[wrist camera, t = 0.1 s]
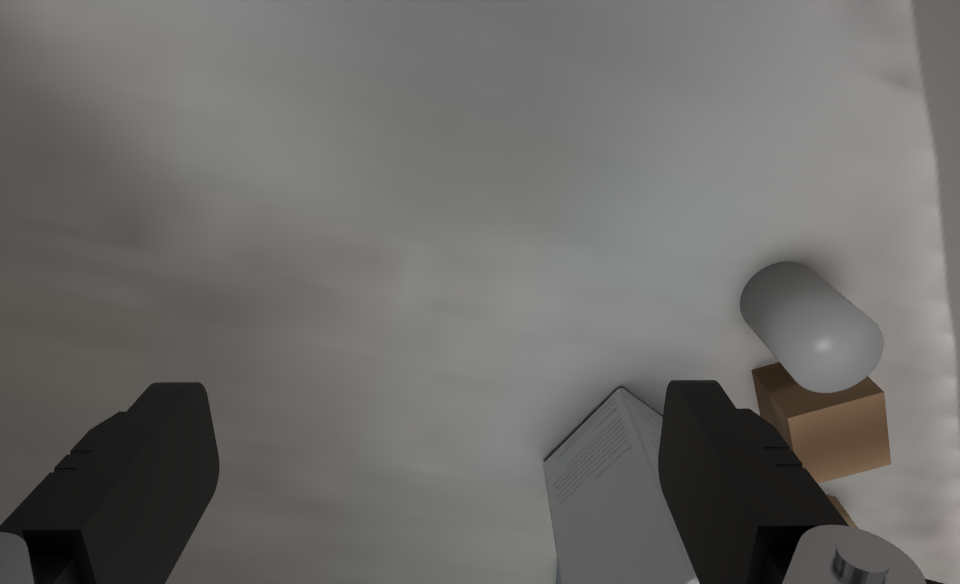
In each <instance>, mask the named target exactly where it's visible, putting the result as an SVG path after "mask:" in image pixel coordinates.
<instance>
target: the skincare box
mask: <svg viewBox="0 0 960 584" xmlns="http://www.w3.org/2000/svg"><path fill="white" fill-rule="evenodd" d="M662 422H663V417H662V416H661V415H660V414H658V413H657V412H655V411H654V410H653V409H651V408H650V407H648V406H647V405H646V404H644V403H643V402H642V401H640V400H639V399H637V398H636V397H634V396H633V395H631V394H630V393H629V392H627V391H626V390H625V389H623V388H619V389H617V390H616V391H615V392H614V393H613V394H612V395H611V396H610V397H609V398H608V399H607V400H606V401H605V402H604V403H603V404H602V405H601V406H600V407H599V408H598V409H597V410H596V411H595V412H594V413H593V414H592V415H591V416H590V417H589V418H588V419H587V420H586V421H585V422H584V423H583V424H582V425H581V426H580V427H579V428H578V429H577V430H576V431H575V432H574V433H573V434H572V435H571V436H570V437H569V438H568V439H567V440H566V441H565V442H564V443H563V444H562V445H561V446H560V447H559V448H558V449H557V450H556V451H555V452H554V453H553V454H552V455H551V456H550V457H549V458H548V459H547V460H546V461H545V462H544V465H543V467H544V473H545V480H546V486H547V494H548V500H549V507H550V513H551V519H552V526H553V533H554V539H555V546H556V553H557V559H558V565H559V572H560V579H561V584H699V581H698V579H697V576H696V574H695V571H694V569H693V566H692V564H691V561H690V559H689V557H688V554H687V552H686V549H685V547H684V544H683V542H682V539H681V537H680V534H679V532H678V529H677V527H676V525H675V522H674V520H673V517H672V515H671V512H670V510H669V507H668V505H667V502H666V500H665V498H664V495H663V492H662V489H661V485H660V480H659V473H658V453H659V445H660V437H661V429H662Z"/></svg>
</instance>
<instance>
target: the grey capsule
mask: <svg viewBox="0 0 960 584" xmlns="http://www.w3.org/2000/svg"><path fill="white" fill-rule="evenodd" d="M740 309H741V313H742V316H743V318H744V320H745V321H746V322H747V324H748V325H749V326H750V327H751V328H752V330H753V331H754V332H755V333H756V334H757V336H758V337H759V338H760V339H761V340H762V342H763V343H764V344H765V345H766V346H767V348H768V349H769V350H770V351H771V352H772V354H773V355H774V356H775V357H776V358H777V359H778V361H779V362H780V363H781V364H782V365H783V367H784V368H785V369H786V370H787V371H788V373H789V374H790V375H791V376H792V377H793V379H794V380H795V381H796V382H797V383H798V384H799V385H801V386H802V387H803V388H805V389H807V390H810V391H813V392H818V393H832V392H838V391H842V390H845V389H847V388H850V387H852V386H854V385H856V384H857V383H859V382H860V381H862V380H863V379H864V378H866V377H867V376H868V375H869V374H870V373H871V372H872V371H873V369H874V368H875V367H876V365H877V364H878V362H879V360H880V358H881V355H882V351H883V345H884V342H883V335H882V332H881V330H880V328H879V326H878V325H877V324H876V323H875V322H874V321H873V320H872V319H871V318H870V317H868V316H867V315H866V314H865V313H863V312H862V311H861V310H860V309H859V308H857V307H856V306H855V305H854V304H852V303H851V302H850V301H849V300H847V299H846V298H845V297H844V296H842V295H841V294H840V293H839V292H838V291H836V290H835V289H834V288H833V287H831V286H830V285H829V284H828V283H826V282H825V281H824V280H823V279H822V278H820V277H819V276H818V275H817V274H815V273H814V272H813V271H812V270H810V269H809V268H808V267H806V266H804V265H802V264H799V263H795V262H781V263H776V264H773V265H770V266H768V267H766V268H764V269H762V270H761V271H759V272H758V273H757V274H755V275H754V276H753V277H752V278H751V279H750V280H749V282H748V283H747V285H746V286H745V288H744V290H743V292H742V295H741V300H740Z"/></svg>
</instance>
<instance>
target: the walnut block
mask: <svg viewBox="0 0 960 584" xmlns="http://www.w3.org/2000/svg"><path fill="white" fill-rule="evenodd" d="M752 375H753V380H754V385H755V390H756V395H757V400H758V405H759V411H760V416H761V417H762V418H763V419H765V420H766V421H768V422H769V423H770V424H772V425H773V426H775V428H776V429H777V430H778V432H779V433H780V434H781V436H782V437H783V438H784V440H785V441H786V442H787V444H788V445H789V446H790V451H793V452H794V453H795V454H796V456H797V457H798V458H799V460H800V461H801V462H802V464H803V465H802V466H803V468H806V469H807V470H808V472H809V473H810V474H811V476H812V477H813V478H814V480H815V481H816V482H817V483H821V482H825V481H829V480H833V479H836V478H840V477H844V476H848V475H852V474H856V473H859V472H863V471H867V470H871V469H875V468H879V467H882V466H886V465H890V464H891V459H890V449H889V439H888V428H887V418H886V408H885V398H884V392H883V391H882V390H881V389H880V388H879V387H878V386H877V385H876V384H875V383H874V382H873V381H872V380H871V379H870V378H869V377H868V376H867V377H866V378H864V379H863V380H862V381H860V382H859V383H857V384H856V385H854V386H852V387H850V388H847V389H845V390H842V391H838V392H832V393H818V392H813V391H810V390H807V389H805V388H803V387H802V386H801V385H799V384H798V383H797V382H796V381H795V380H794V379H793V377H792V376H791V375H790V374H789V373H788V371H787V370H786V369H785V368H784V367H783V365H782V364H781V363H780V362H778V363H775V364H771V365H768V366H764V367H761V368H757V369H754V370H752Z"/></svg>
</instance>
